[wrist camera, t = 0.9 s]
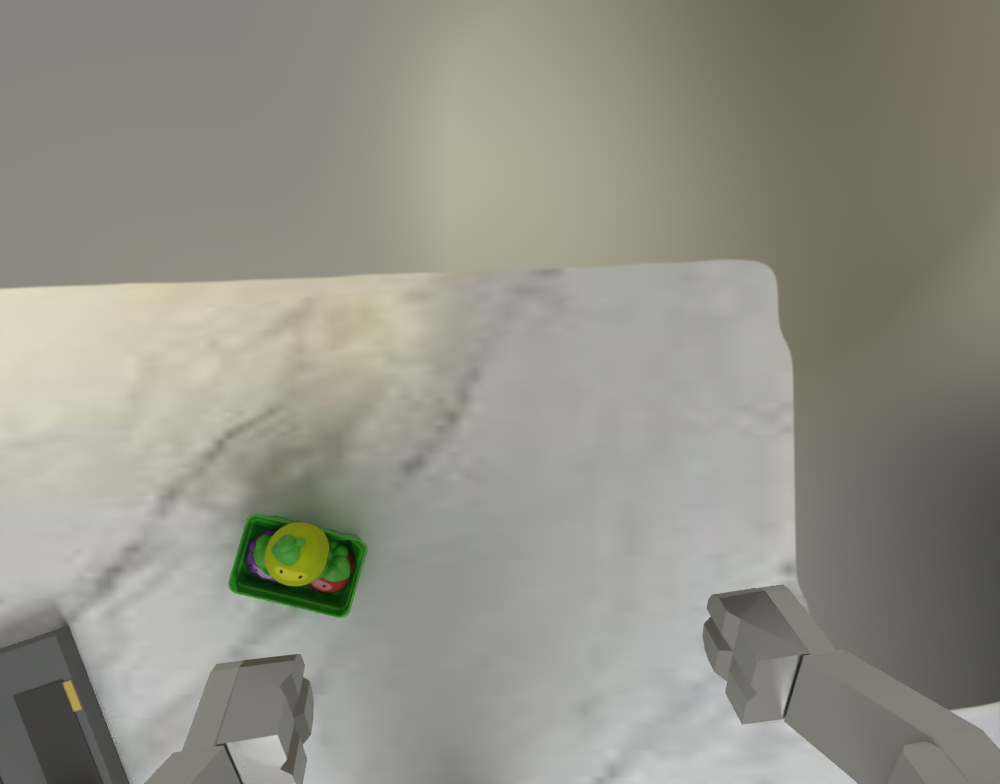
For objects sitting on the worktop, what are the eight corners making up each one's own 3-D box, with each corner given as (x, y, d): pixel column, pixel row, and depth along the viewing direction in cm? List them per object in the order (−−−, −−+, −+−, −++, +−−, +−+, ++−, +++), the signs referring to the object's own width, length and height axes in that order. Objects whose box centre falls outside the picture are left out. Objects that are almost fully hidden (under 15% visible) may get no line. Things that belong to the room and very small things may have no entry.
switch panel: (152, 845, 58) (142, 863, 56) (7, 901, 56) (-9, 921, 54) (68, 626, 56) (54, 636, 54) (-84, 677, 54) (-105, 689, 52)
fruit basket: (242, 572, 58) (198, 621, 47) (266, 488, 58) (229, 517, 47) (353, 598, 59) (337, 652, 48) (377, 516, 59) (366, 551, 48)
